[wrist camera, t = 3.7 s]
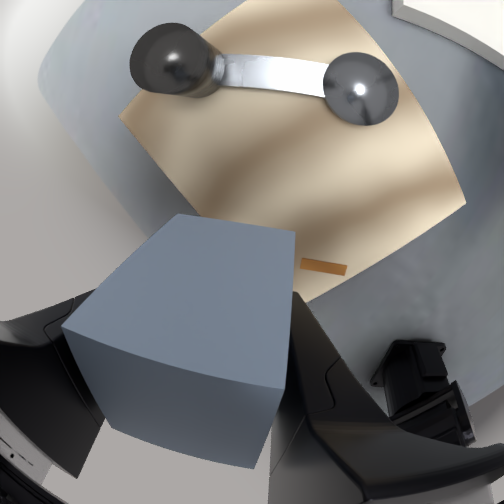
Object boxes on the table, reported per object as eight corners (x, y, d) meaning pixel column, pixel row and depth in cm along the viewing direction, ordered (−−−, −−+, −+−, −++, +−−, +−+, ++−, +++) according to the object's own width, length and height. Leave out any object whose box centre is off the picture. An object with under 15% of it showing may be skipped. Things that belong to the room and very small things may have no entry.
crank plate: (456, 196, 16) (467, 203, 15) (285, 302, 23) (284, 314, 21) (301, -22, 12) (301, -32, 10) (129, 115, 18) (117, 116, 16)
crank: (396, 66, 12) (431, 50, 8) (388, 133, 14) (421, 139, 10) (176, 41, 13) (136, 21, 9) (168, 104, 16) (125, 102, 11)
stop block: (276, 325, 11) (253, 469, 6) (179, 306, 11) (111, 427, 6) (295, 231, 9) (284, 389, 4) (177, 213, 9) (60, 326, 4)
